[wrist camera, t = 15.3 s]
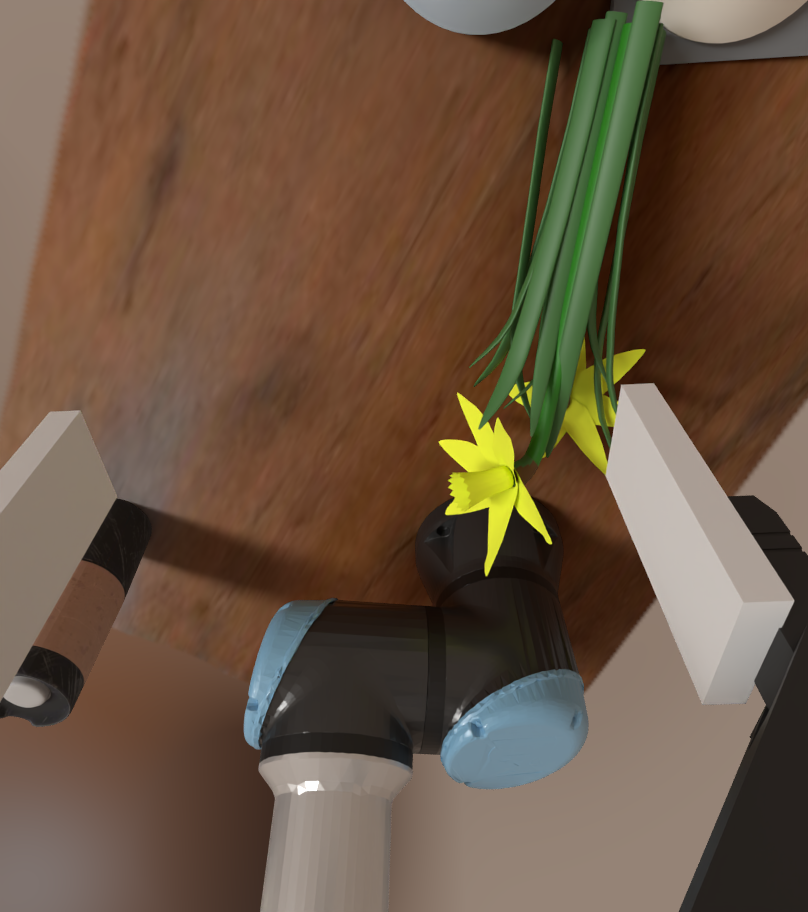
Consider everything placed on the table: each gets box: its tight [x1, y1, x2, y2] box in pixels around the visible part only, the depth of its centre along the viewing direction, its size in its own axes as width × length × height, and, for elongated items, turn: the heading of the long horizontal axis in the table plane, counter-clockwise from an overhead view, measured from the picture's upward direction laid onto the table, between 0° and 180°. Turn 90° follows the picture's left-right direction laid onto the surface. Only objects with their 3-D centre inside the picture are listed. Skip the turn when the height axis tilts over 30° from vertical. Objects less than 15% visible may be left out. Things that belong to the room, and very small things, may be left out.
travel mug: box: [0, 499, 151, 727], centre depth 56 cm, size 8×8×20 cm
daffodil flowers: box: [439, 1, 666, 576], centre depth 43 cm, size 17×15×35 cm
